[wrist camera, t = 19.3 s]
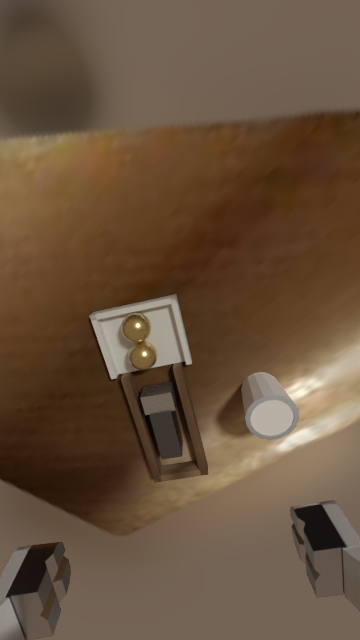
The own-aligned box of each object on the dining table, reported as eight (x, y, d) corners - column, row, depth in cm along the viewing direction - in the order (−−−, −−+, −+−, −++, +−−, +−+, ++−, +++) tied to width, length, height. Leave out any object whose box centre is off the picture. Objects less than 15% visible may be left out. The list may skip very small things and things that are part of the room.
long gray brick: (171, 393, 41) (186, 455, 44) (172, 380, 44) (186, 438, 47) (139, 398, 41) (157, 459, 44) (143, 385, 44) (159, 442, 48)
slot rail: (181, 361, 43) (181, 367, 41) (207, 464, 49) (208, 474, 47) (123, 372, 44) (120, 379, 42) (156, 472, 50) (155, 482, 48)
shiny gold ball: (155, 324, 41) (147, 304, 39) (154, 346, 38) (145, 325, 36) (128, 329, 42) (118, 309, 39) (125, 351, 39) (114, 331, 36)
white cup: (257, 415, 45) (269, 448, 39) (227, 388, 44) (234, 418, 37) (292, 388, 44) (310, 418, 37) (262, 359, 42) (275, 385, 36)
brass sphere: (161, 352, 43) (154, 333, 40) (159, 374, 40) (151, 354, 37) (135, 356, 43) (126, 337, 41) (131, 377, 40) (121, 358, 38)
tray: (176, 294, 39) (175, 296, 38) (191, 359, 43) (191, 363, 41) (92, 312, 41) (89, 315, 39) (113, 374, 44) (111, 379, 42)
